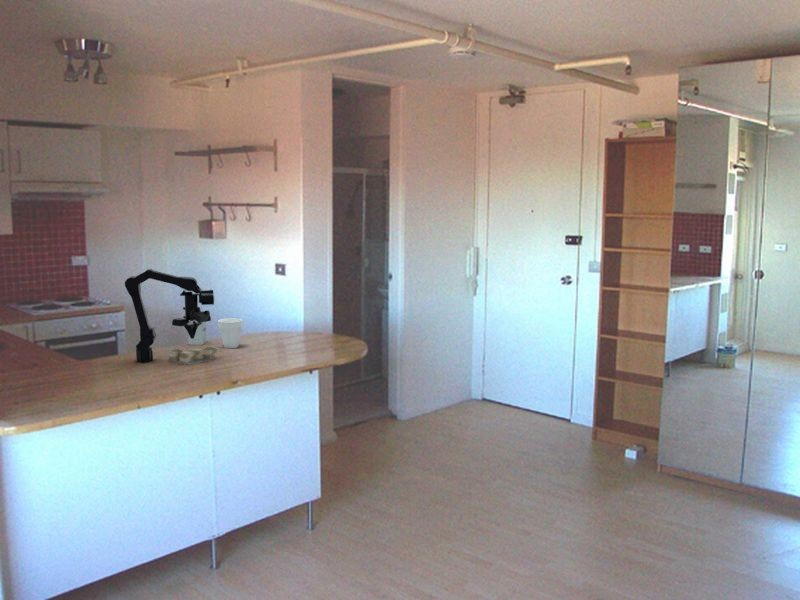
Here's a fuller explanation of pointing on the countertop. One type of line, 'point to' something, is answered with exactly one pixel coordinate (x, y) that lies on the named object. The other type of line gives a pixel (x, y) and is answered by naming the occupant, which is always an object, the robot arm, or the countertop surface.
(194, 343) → the supplement box
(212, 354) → the number block
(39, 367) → the countertop surface
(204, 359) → the mat
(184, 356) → the plain bar
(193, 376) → the countertop surface
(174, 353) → the number block
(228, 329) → the cup
